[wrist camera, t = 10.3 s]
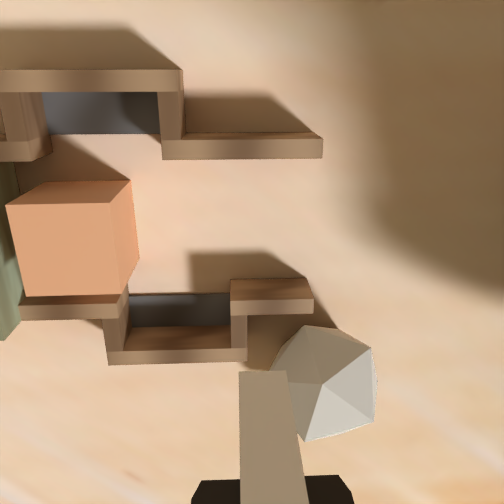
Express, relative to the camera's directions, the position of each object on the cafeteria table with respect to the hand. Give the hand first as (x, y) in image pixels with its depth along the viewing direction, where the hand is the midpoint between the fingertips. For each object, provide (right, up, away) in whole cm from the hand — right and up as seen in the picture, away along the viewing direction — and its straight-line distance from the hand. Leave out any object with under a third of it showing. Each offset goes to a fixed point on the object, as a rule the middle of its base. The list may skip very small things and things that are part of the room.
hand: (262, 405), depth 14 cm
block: (-12, +7, +18) cm, 23 cm away
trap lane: (-7, +7, +18) cm, 21 cm away
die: (+5, -3, +23) cm, 24 cm away
